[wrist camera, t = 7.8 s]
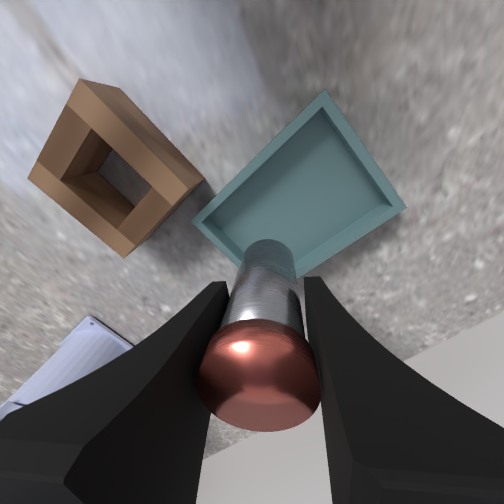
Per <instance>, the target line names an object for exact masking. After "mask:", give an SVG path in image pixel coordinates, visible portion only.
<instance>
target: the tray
mask: <svg viewBox="0 0 504 504" xmlns="http://www.w3.org/2000/svg"><path fill="white" fill-rule="evenodd" d="M406 208H407V207H406V206H405V204H404V203H403V201H402V200H401V198H400V197H399V195H398V194H397V193H396V191H395V190H394V188H393V187H392V185H391V184H390V182H389V181H388V179H387V178H386V177H385V175H384V174H383V172H382V171H381V169H380V168H379V166H378V165H377V163H376V162H375V161H374V159H373V158H372V156H371V155H370V153H369V152H368V150H367V149H366V147H365V146H364V145H363V143H362V142H361V140H360V139H359V137H358V136H357V134H356V133H355V131H354V130H353V129H352V127H351V126H350V124H349V123H348V121H347V120H346V118H345V117H344V115H343V114H342V112H341V111H340V110H339V108H338V107H337V105H336V104H335V102H334V101H333V99H332V98H331V96H330V95H329V94H328V92H327V91H326V89H324V90H323V91H322V92H321V93H320V94H319V95H318V96H317V97H316V98H315V99H314V100H313V101H312V102H311V103H310V104H309V105H308V106H307V107H306V108H305V109H304V110H303V111H302V112H301V113H300V114H299V115H298V116H297V117H296V118H295V119H294V120H293V121H292V122H291V123H290V124H289V125H288V126H287V127H286V128H285V129H283V130H282V131H281V132H280V133H279V134H278V135H277V136H276V137H275V138H274V139H273V140H272V141H271V142H270V143H269V144H268V145H267V146H266V147H265V148H264V149H263V150H262V151H261V152H260V153H259V154H258V155H257V156H256V157H255V158H254V159H253V160H252V161H251V162H250V163H249V164H248V165H247V166H246V167H245V168H244V169H243V170H242V171H241V172H240V173H239V174H238V175H237V176H236V177H235V178H234V179H233V180H232V181H231V182H230V183H229V184H228V185H227V186H226V187H225V188H224V189H223V190H221V191H220V192H219V193H218V194H217V195H216V196H215V197H214V198H213V199H212V200H211V201H210V202H209V203H208V204H207V205H206V206H205V207H204V208H203V209H202V210H201V211H200V212H199V213H198V214H197V215H196V216H195V217H194V218H193V219H192V220H191V221H190V222H191V223H192V224H194V225H195V226H196V227H197V228H198V229H199V230H200V231H201V232H202V233H203V234H204V235H205V236H206V237H207V238H208V239H209V240H210V241H211V242H212V243H213V244H214V245H215V246H216V247H217V248H218V249H219V250H220V251H221V252H223V253H224V254H225V255H226V256H227V257H228V258H229V259H230V260H231V261H232V262H233V263H234V264H235V265H236V266H237V267H238V268H239V267H240V264H241V261H242V258H243V255H244V252H245V251H246V249H247V248H248V247H249V246H250V245H251V244H253V243H254V242H256V241H259V240H263V239H273V240H277V241H279V242H281V243H283V244H284V245H286V246H287V247H288V248H289V249H290V251H291V252H292V255H293V258H294V264H295V270H296V277H297V279H298V278H300V277H301V276H303V275H304V274H306V273H307V272H309V271H310V270H312V269H313V268H315V267H317V266H318V265H320V264H321V263H323V262H324V261H326V260H327V259H329V258H330V257H332V256H333V255H335V254H337V253H338V252H340V251H341V250H343V249H344V248H346V247H347V246H349V245H350V244H352V243H353V242H355V241H357V240H358V239H360V238H361V237H363V236H364V235H366V234H367V233H369V232H370V231H372V230H374V229H375V228H377V227H378V226H380V225H381V224H383V223H384V222H386V221H387V220H389V219H390V218H392V217H394V216H395V215H397V214H398V213H400V212H401V211H403V210H404V209H406Z"/></svg>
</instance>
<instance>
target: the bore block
mask: <svg viewBox="0 0 504 504" xmlns="http://www.w3.org/2000/svg"><path fill="white" fill-rule="evenodd" d="M112 149H114V150H115V151H116V152H117V153H118V154H119V155H120V156H121V157H122V158H123V159H124V160H125V161H126V162H127V163H128V164H129V165H131V166H132V167H133V168H134V169H135V170H136V171H137V172H138V173H139V174H140V175H141V176H142V177H143V178H144V179H145V180H146V181H147V182H148V183H149V184H150V185H151V186H152V188H151V189H150V190H149V191H148V193H147V194H146V195H145V196H144V197H143V198H142V200H141V201H140V202H139V203H138V204H137V206H136V207H135V206H134V205H133V204H132V203H131V202H129V201H128V200H127V199H126V198H125V197H124V196H123V195H122V194H121V193H120V192H118V191H117V190H116V189H115V188H114V187H113V186H112V185H111V184H110V183H109V182H108V181H106V180H105V179H104V178H103V177H102V176H101V175H100V174H99V173H98V172H97V171H98V169H99V168H100V166H101V165H102V163H103V162H104V161H105V159H106V158H107V156H108V155H109V153H110V152H111V150H112ZM27 179H28V180H30V181H31V182H32V183H33V184H34V185H36V186H37V187H38V188H39V189H41V190H42V191H43V192H44V193H45V194H47V195H48V196H49V197H50V198H51V199H53V200H54V201H55V202H56V203H57V204H59V205H60V206H61V207H62V208H63V209H65V210H66V211H67V212H68V213H69V214H71V215H72V216H73V217H74V218H75V219H77V220H78V221H79V222H80V223H82V224H83V225H84V226H85V227H86V228H88V229H89V230H90V231H91V232H92V233H94V234H95V235H96V236H97V237H98V238H100V239H101V240H102V241H103V242H104V243H106V244H107V245H108V246H109V247H110V248H112V249H113V250H114V251H115V252H117V253H118V254H119V255H120V256H121V257H123V258H125V257H126V256H127V255H129V254H130V253H131V252H132V251H134V250H135V249H136V248H137V247H138V246H140V245H141V244H142V243H143V242H145V241H146V240H147V239H148V238H149V237H150V236H151V235H152V234H153V233H154V232H155V231H156V230H157V229H158V227H159V226H160V225H161V224H162V223H163V222H164V221H165V220H166V219H167V218H168V217H169V216H170V215H171V214H172V213H173V212H174V211H175V210H176V208H177V207H178V206H179V205H180V204H181V203H182V202H183V201H184V200H185V199H186V198H187V197H188V196H189V195H190V194H191V193H192V192H193V191H194V189H195V188H196V187H197V186H198V185H199V184H200V183H201V182H202V181H203V180H204V179H205V178H204V177H203V176H202V175H201V173H200V172H199V171H198V170H197V169H196V168H195V167H194V166H193V165H192V164H191V163H190V162H189V161H188V160H187V159H186V158H185V157H184V156H183V155H182V153H181V152H180V151H179V150H178V149H177V148H176V147H175V146H174V145H173V144H172V143H171V142H170V141H169V140H168V139H167V138H166V137H165V136H164V135H163V133H162V132H161V131H160V130H159V129H158V128H157V127H156V126H155V125H154V124H153V123H152V122H151V121H150V120H149V119H148V118H147V117H146V116H145V114H144V113H143V112H142V111H141V110H140V109H139V108H138V107H137V106H136V105H135V104H134V103H133V102H132V101H131V100H130V99H129V98H128V97H127V96H126V94H125V93H124V92H123V91H122V90H121V89H120V88H117V87H113V86H109V85H105V84H101V83H96V82H92V81H88V80H84V79H79V80H78V82H77V84H76V86H75V88H74V90H73V92H72V93H71V95H70V97H69V99H68V101H67V103H66V105H65V107H64V109H63V111H62V113H61V115H60V116H59V118H58V120H57V122H56V124H55V126H54V128H53V130H52V132H51V134H50V136H49V138H48V140H47V141H46V143H45V145H44V147H43V149H42V151H41V153H40V155H39V157H38V159H37V161H36V163H35V165H34V166H33V168H32V170H31V172H30V174H29V176H28V178H27Z"/></svg>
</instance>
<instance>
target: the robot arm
mask: <svg viewBox="0 0 504 504" xmlns="http://www.w3.org/2000/svg"><path fill="white" fill-rule="evenodd" d="M304 290H305V309H306V323H307V333H308V341H309V344H310V346H311V348H312V350H313V352H314V355H315V360H316V365H317V371H318V377H319V382H320V388H321V399H320V401H321V407H322V415H323V423H324V432H325V441H326V449H327V458H328V467H329V476H330V484H331V494H332V502H333V504H504V428H503V427H501V426H500V425H498V424H496V423H495V422H492V421H491V420H489V419H488V418H486V417H485V416H483V415H481V414H479V413H477V412H476V411H474V410H473V409H471V408H469V407H467V406H466V405H464V404H463V403H461V402H460V401H458V400H457V399H455V398H454V397H452V396H450V395H449V394H448V393H446V392H445V391H443V390H442V389H440V388H439V387H437V386H435V385H434V384H432V383H431V382H430V381H428V380H427V379H425V378H424V377H422V376H421V375H420V374H419V373H417V372H416V371H414V370H413V369H412V368H410V367H409V366H408V365H406V364H405V363H404V362H402V361H401V360H400V359H398V358H397V357H396V356H394V355H393V354H392V353H391V352H390V351H388V350H387V349H386V348H385V347H384V346H382V345H381V344H380V343H379V342H378V341H377V340H376V339H374V338H373V337H372V336H371V335H370V334H369V333H368V332H367V331H366V330H365V329H364V328H363V327H362V326H361V325H360V324H359V323H358V322H357V321H356V320H355V319H354V318H353V317H352V316H351V315H350V314H349V313H348V312H347V311H346V309H345V308H344V307H343V306H342V305H341V304H340V303H339V301H338V300H337V299H336V298H335V296H334V295H333V294H332V293H331V291H330V290H329V289H328V287H327V286H326V284H325V283H324V281H323V280H322V278H321V277H319V276H317V277H304ZM229 298H230V297H229V293H228V289H227V284H226V281H218V282H212V283H210V284H209V285H208V286H207V287H206V288H205V289H204V290H202V291H201V292H200V293H199V294H198V295H197V296H196V297H195V298H194V299H193V300H192V301H191V302H189V303H188V304H187V305H186V306H185V307H184V308H183V309H182V310H181V311H179V312H178V313H177V314H176V315H175V316H173V317H172V318H171V319H170V320H169V321H167V322H166V323H165V324H164V325H163V326H161V327H160V328H159V329H158V330H156V331H155V332H154V333H152V334H151V335H150V336H148V337H147V338H145V339H144V340H143V341H141V342H140V343H138V344H137V345H135V346H132V345H131V344H129V343H128V342H127V341H125V340H124V339H122V338H121V337H120V336H118V335H117V334H115V333H114V332H113V331H111V330H110V329H109V328H107V327H106V326H104V325H103V324H102V323H100V322H99V321H97V320H96V319H95V318H93V317H92V316H87V317H86V318H85V319H84V320H83V321H82V322H81V323H80V324H79V325H78V326H77V327H76V328H75V329H74V330H73V331H72V332H71V333H70V334H69V335H68V336H67V337H66V338H65V339H64V340H63V341H62V342H61V343H60V344H59V347H60V349H59V350H58V351H57V352H56V353H55V354H54V355H53V356H52V357H51V358H50V359H49V360H47V361H46V362H45V363H44V364H43V365H42V366H41V367H40V368H39V369H38V370H37V371H36V372H35V373H34V374H33V375H32V376H31V377H30V378H29V379H28V380H27V381H26V382H25V383H24V384H23V385H22V386H21V387H20V388H19V389H18V390H17V391H16V392H15V393H14V394H13V395H12V396H11V397H10V398H9V399H8V400H7V401H6V402H4V403H3V404H2V405H1V406H0V504H196V498H197V492H198V485H199V478H200V472H201V466H202V460H203V454H204V448H205V442H206V437H207V431H208V426H209V420H210V415H211V412H210V411H209V410H208V409H207V408H206V407H205V405H204V404H203V403H202V401H201V399H200V398H199V395H198V393H197V388H196V379H197V374H198V371H199V369H200V366H201V363H202V360H203V357H204V355H205V352H206V349H207V346H208V343H209V341H210V340H211V338H212V337H213V335H214V334H215V333H216V332H217V331H219V330H220V326H221V323H222V320H223V317H224V314H225V311H226V308H227V305H228V301H229Z"/></svg>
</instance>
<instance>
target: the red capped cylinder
mask: <svg viewBox="0 0 504 504" xmlns="http://www.w3.org/2000/svg"><path fill="white" fill-rule="evenodd" d="M196 388H197V393H198V395H199V398H200V399H201V401H202V403H203V404H204V405H205V407H206V408H207V409H208V410H209V411H210V412H211V413H212V414H214V415H215V416H216V417H218V418H219V419H221V420H222V421H224V422H226V423H228V424H231V425H233V426H236V427H239V428H242V429H246V430H251V431H259V432H273V431H281V430H285V429H289V428H292V427H295V426H297V425H299V424H301V423H303V422H304V421H306V420H307V419H309V418H310V417H311V416H312V415H313V413H314V412H315V411H316V410H317V408H318V405H319V403H320V399H321V388H320V382H319V377H318V371H317V365H316V360H315V355H314V352H313V350H312V348H311V346H310V344H309V343H308V341H307V340H306V339H305V332H304V325H303V318H302V312H301V305H300V298H299V291H298V284H297V277H296V270H295V264H294V258H293V255H292V252H291V251H290V249H289V248H288V247H287V246H286V245H284V244H283V243H281V242H279V241H277V240H273V239H263V240H259V241H256V242H254V243H253V244H251V245H250V246H249V247H248V248H247V249H246V251H245V252H244V255H243V258H242V261H241V264H240V267H239V270H238V273H237V276H236V280H235V283H234V286H233V289H232V292H231V295H230V298H229V301H228V305H227V308H226V311H225V314H224V317H223V320H222V323H221V326H220V330H219V331H217V332H216V333H215V334H214V335H213V337H212V338H211V340H210V341H209V343H208V346H207V349H206V352H205V355H204V357H203V360H202V363H201V366H200V369H199V371H198V374H197V379H196Z"/></svg>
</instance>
